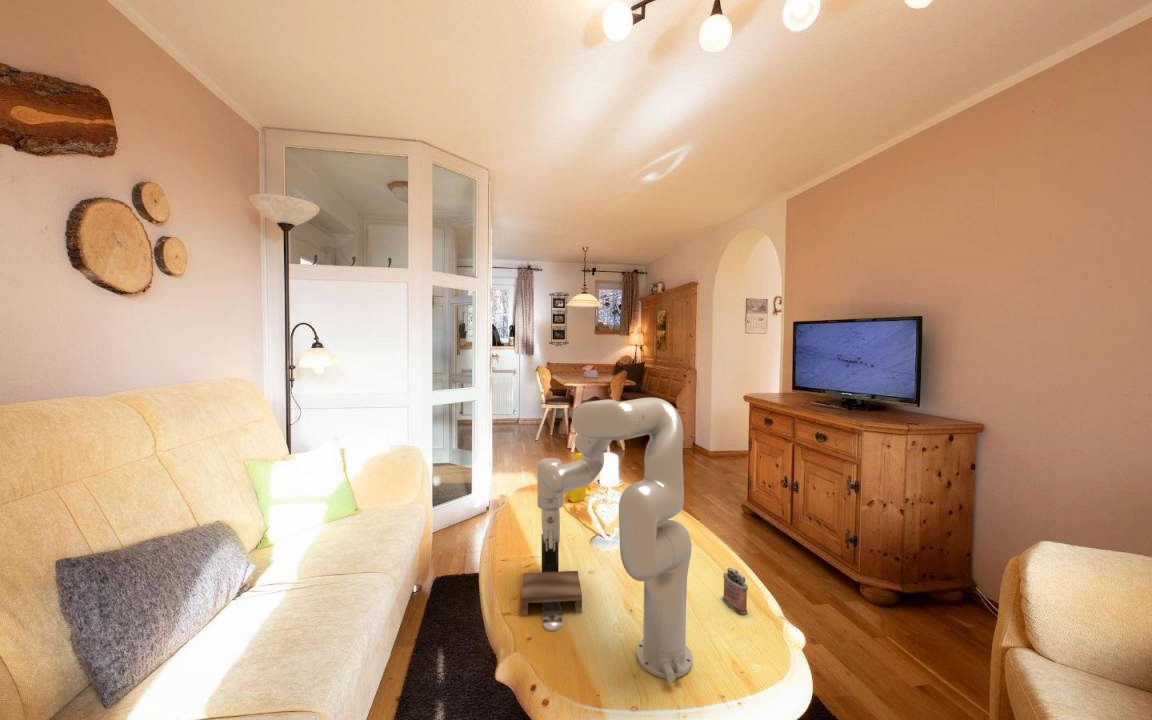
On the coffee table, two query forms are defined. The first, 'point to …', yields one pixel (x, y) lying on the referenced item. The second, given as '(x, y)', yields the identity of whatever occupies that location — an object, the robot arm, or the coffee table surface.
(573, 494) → the figure statuette
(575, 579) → the low table
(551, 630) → the steel token
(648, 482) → the robot arm
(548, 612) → the pusher tool
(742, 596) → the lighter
